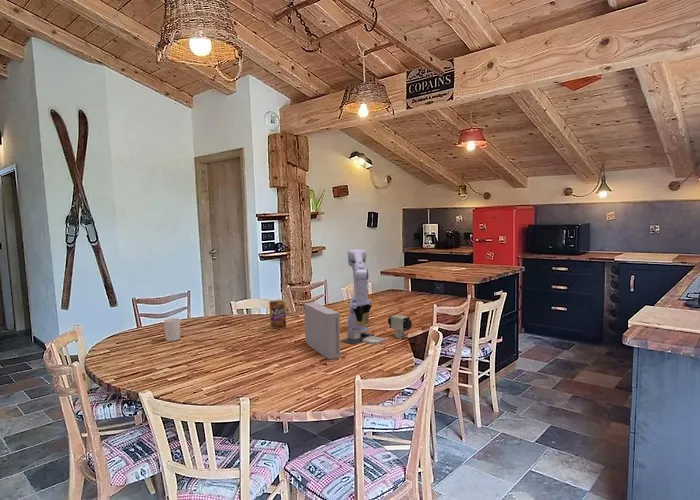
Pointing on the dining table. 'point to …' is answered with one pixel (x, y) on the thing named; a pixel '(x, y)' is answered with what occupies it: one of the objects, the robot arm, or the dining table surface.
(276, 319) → the candy box
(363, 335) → the rail
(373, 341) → the tray
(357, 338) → the grey rectangular block
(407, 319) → the pneumatic valve
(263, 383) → the dining table surface
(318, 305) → the game console
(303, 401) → the dining table surface
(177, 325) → the white cup
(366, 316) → the tan rectangular block
